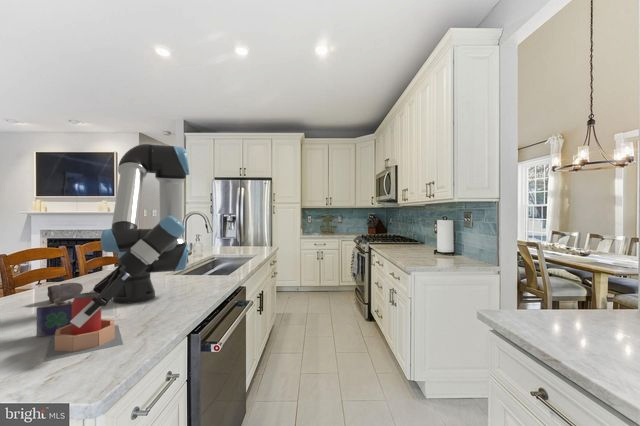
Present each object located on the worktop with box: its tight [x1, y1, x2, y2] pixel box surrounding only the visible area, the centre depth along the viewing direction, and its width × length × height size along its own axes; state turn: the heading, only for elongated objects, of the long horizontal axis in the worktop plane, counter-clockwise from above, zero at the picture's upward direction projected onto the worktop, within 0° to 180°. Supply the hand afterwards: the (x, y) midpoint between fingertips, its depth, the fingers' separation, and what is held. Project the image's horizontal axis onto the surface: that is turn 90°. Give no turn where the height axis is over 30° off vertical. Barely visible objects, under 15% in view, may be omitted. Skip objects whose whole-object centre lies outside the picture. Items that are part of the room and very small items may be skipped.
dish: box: [54, 318, 116, 352], centre depth 85 cm, size 13×13×4 cm
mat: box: [43, 324, 124, 363], centre depth 85 cm, size 18×16×1 cm
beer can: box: [71, 291, 102, 335], centre depth 85 cm, size 7×7×12 cm
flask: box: [35, 298, 73, 338], centre depth 90 cm, size 9×3×11 cm, turn 121°
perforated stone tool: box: [47, 282, 84, 303], centre depth 126 cm, size 15×5×7 cm, turn 170°
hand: (75, 317), depth 83 cm, fingers open, 13 cm apart
